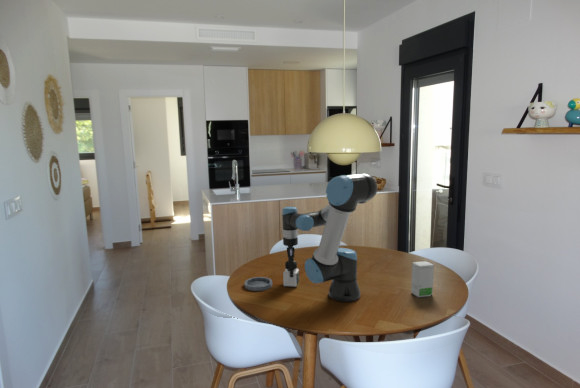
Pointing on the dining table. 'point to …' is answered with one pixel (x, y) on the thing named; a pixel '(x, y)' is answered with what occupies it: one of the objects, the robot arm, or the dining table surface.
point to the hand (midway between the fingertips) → (291, 279)
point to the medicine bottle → (286, 275)
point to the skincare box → (422, 279)
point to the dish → (258, 283)
